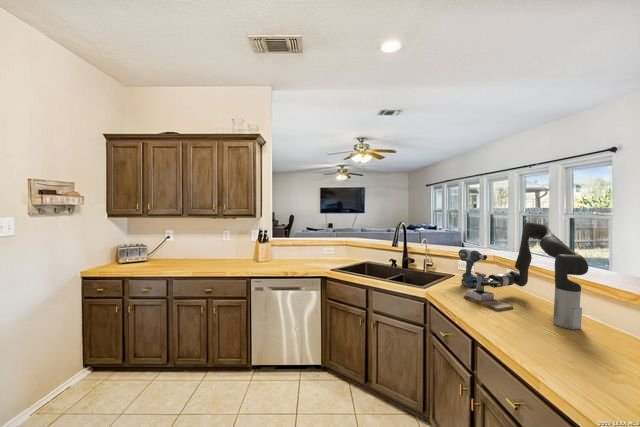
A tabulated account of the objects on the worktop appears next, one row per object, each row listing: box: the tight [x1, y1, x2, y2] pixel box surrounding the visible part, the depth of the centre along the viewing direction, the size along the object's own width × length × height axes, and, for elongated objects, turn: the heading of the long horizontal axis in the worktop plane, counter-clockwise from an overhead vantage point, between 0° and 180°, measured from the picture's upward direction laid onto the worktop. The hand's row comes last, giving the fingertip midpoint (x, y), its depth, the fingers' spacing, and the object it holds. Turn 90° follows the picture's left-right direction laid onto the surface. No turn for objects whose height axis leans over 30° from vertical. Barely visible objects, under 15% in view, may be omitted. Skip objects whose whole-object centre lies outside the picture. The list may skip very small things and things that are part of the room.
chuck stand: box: [462, 288, 515, 312], centre depth 166 cm, size 22×12×5 cm, turn 21°
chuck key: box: [474, 271, 487, 294], centre depth 171 cm, size 7×4×14 cm, turn 21°
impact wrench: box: [458, 248, 488, 289], centre depth 199 cm, size 8×22×25 cm, turn 15°
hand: (477, 282), depth 170 cm, fingers open, 5 cm apart
